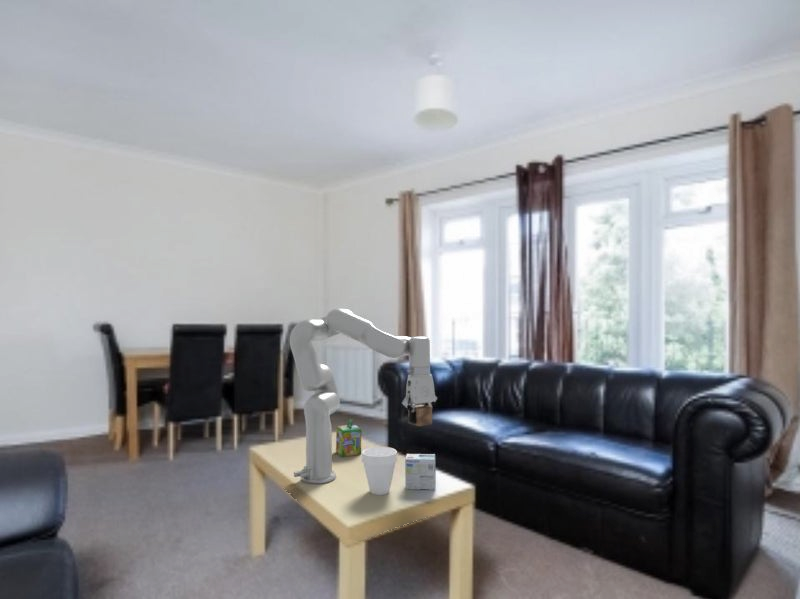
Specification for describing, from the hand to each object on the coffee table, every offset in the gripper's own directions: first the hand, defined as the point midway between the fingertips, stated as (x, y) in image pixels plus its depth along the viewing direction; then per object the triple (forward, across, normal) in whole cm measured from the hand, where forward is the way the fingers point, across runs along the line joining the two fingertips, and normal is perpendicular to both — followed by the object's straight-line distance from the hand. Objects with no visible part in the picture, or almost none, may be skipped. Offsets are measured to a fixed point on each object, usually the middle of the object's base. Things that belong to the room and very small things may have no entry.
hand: (420, 421), depth 167 cm
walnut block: (+1, 0, 0) cm, 1 cm away
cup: (+23, -14, +5) cm, 28 cm away
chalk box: (+23, 0, +51) cm, 56 cm away
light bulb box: (+23, 0, 0) cm, 23 cm away
